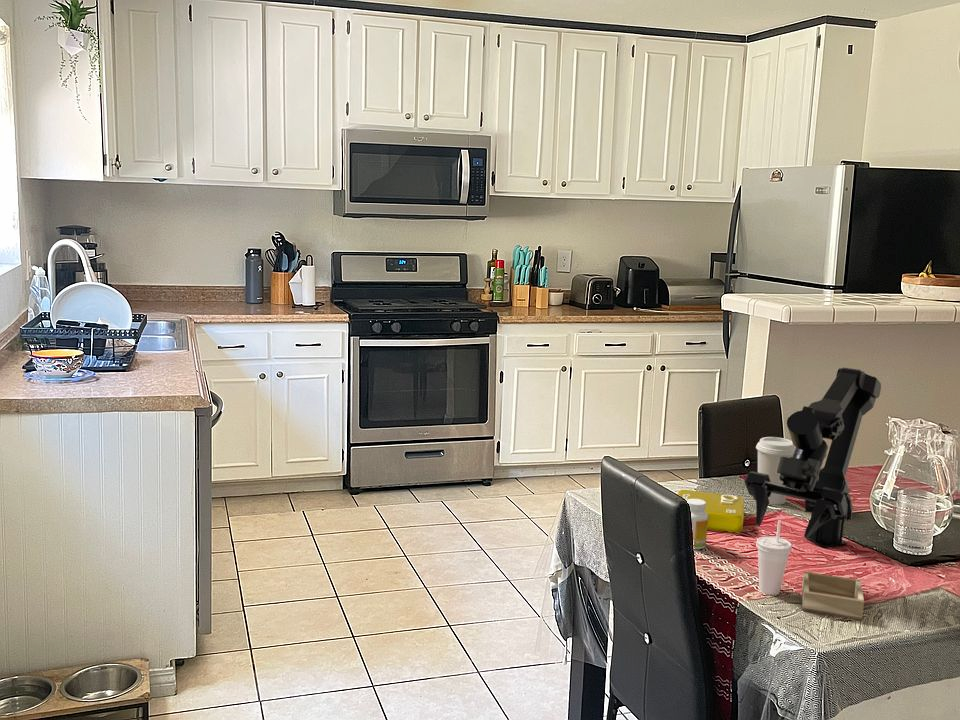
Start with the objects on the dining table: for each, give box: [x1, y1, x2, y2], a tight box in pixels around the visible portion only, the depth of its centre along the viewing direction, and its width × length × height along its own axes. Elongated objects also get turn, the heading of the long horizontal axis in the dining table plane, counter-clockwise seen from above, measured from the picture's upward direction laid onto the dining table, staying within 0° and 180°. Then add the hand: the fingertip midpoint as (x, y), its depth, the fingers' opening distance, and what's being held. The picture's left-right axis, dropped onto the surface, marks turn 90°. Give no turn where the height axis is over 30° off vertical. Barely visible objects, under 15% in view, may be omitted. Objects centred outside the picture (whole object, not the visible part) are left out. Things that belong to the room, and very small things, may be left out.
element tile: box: [677, 489, 745, 533], centre depth 212 cm, size 15×15×5 cm
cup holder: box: [801, 570, 865, 621], centre depth 170 cm, size 10×10×4 cm
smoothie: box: [755, 519, 793, 596], centre depth 173 cm, size 6×6×14 cm
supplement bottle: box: [687, 499, 708, 550], centre depth 195 cm, size 5×5×10 cm
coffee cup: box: [755, 436, 796, 506], centre depth 225 cm, size 10×10×15 cm
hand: (781, 531), depth 175 cm, fingers open, 9 cm apart
